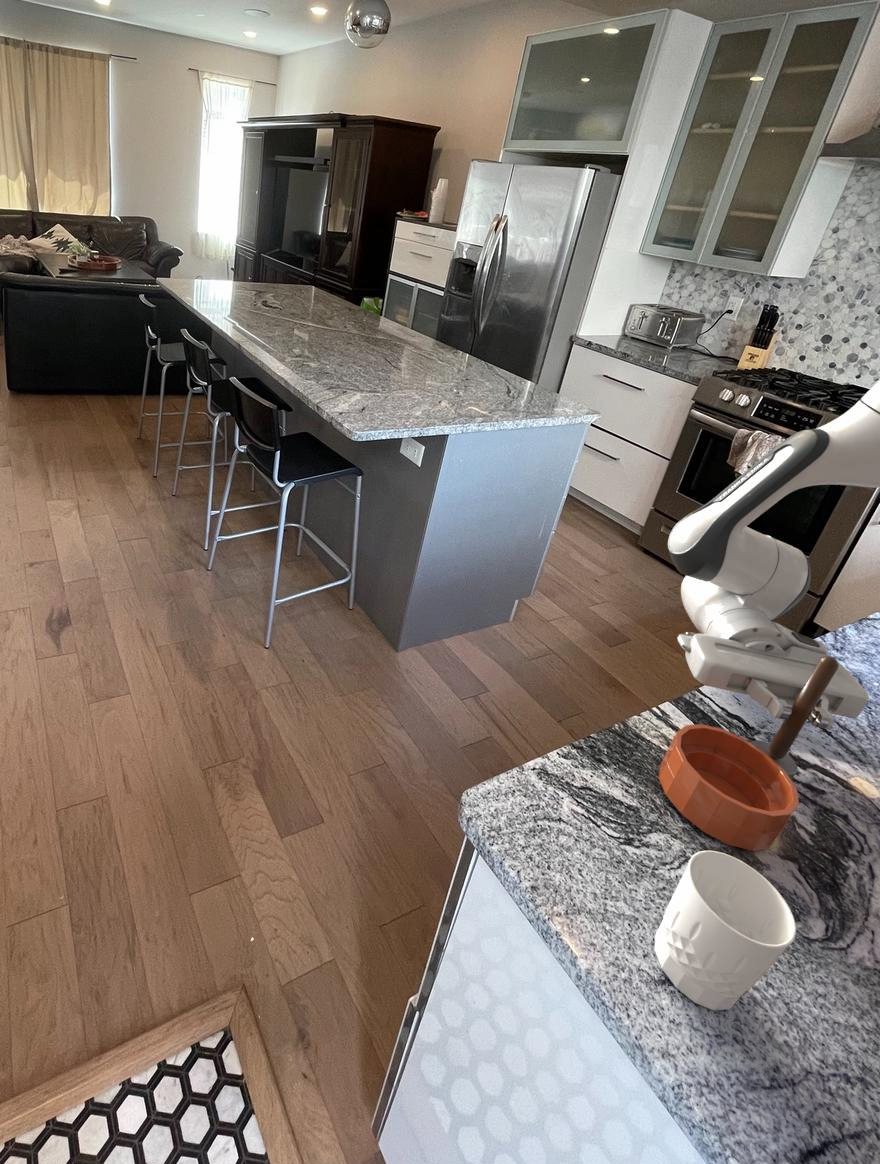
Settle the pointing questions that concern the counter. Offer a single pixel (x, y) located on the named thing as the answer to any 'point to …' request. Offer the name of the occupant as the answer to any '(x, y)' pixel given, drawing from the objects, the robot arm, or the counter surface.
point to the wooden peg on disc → (799, 715)
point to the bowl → (727, 787)
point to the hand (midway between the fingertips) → (804, 719)
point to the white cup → (722, 930)
